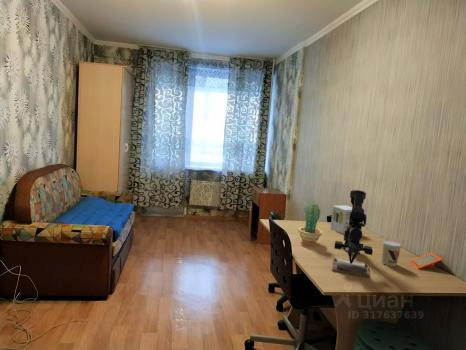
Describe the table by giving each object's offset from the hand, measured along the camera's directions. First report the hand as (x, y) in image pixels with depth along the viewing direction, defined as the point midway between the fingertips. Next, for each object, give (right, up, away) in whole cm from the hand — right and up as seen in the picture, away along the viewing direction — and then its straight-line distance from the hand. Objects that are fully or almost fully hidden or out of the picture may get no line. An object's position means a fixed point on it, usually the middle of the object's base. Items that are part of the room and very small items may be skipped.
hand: (351, 263), depth 191 cm
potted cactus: (-13, +3, +42) cm, 44 cm away
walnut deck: (0, -3, +1) cm, 4 cm away
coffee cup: (+26, -4, +15) cm, 30 cm away
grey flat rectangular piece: (0, -2, +1) cm, 2 cm away
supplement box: (+19, +5, +77) cm, 79 cm away
